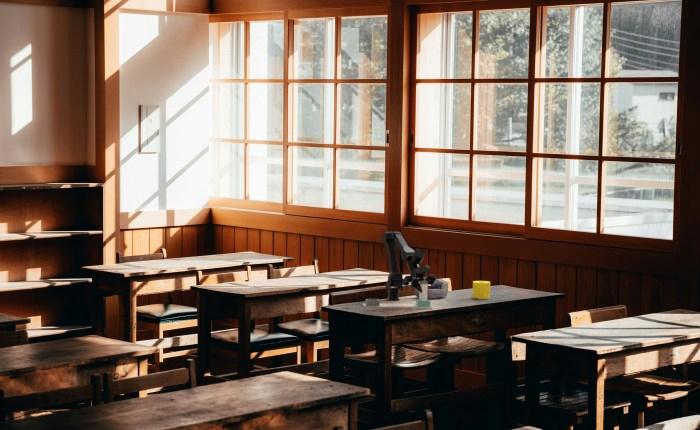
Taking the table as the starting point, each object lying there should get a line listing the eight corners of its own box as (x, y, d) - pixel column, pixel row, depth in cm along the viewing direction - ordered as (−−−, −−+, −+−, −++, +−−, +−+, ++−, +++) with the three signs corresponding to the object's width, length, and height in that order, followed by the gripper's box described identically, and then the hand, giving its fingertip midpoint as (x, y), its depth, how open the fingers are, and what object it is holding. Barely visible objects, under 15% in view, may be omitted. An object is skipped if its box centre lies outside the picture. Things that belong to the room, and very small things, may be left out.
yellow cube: (491, 297, 623) (492, 281, 622) (486, 299, 614) (487, 283, 613) (475, 296, 627) (476, 280, 626) (470, 298, 618) (470, 282, 617)
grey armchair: (451, 279, 617) (426, 282, 604) (450, 297, 618) (426, 301, 605) (435, 277, 627) (410, 280, 614) (435, 295, 628) (410, 298, 615)
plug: (419, 302, 576) (419, 280, 575) (424, 302, 577) (424, 280, 576) (422, 303, 573) (422, 281, 572) (427, 303, 574) (427, 281, 574)
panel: (362, 305, 581) (362, 297, 580) (429, 305, 584) (429, 298, 583) (364, 308, 569) (364, 300, 568) (432, 308, 572) (432, 301, 571)
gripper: (405, 261, 573) (415, 283, 564) (435, 260, 581) (445, 282, 572) (398, 273, 581) (407, 296, 571) (427, 272, 589) (437, 295, 580)
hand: (424, 292), depth 573 cm, fingers closed on plug, 3 cm apart
